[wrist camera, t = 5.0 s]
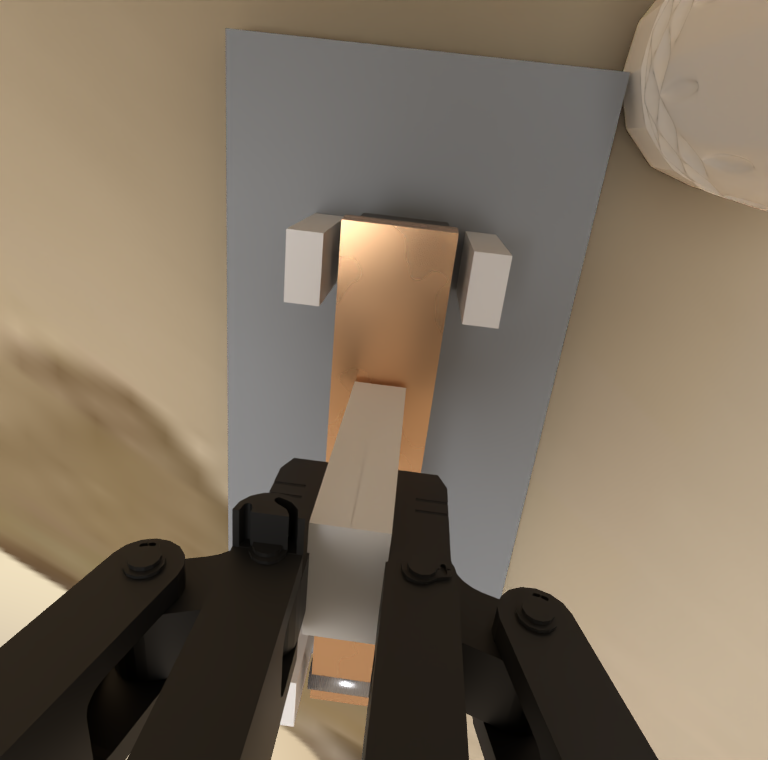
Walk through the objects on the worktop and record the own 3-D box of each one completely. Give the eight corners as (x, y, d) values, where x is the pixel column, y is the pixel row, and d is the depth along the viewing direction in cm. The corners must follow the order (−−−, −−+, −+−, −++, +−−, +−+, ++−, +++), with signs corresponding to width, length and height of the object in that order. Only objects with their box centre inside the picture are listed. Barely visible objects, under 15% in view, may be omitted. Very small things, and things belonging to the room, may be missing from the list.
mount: (241, 38, 18) (156, -14, 12) (614, 78, 17) (699, 44, 12) (239, 616, 28) (191, 733, 22) (478, 650, 27) (491, 778, 22)
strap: (343, 212, 15) (336, 220, 14) (461, 226, 15) (463, 235, 14) (312, 675, 23) (306, 702, 22) (388, 685, 23) (385, 713, 22)
